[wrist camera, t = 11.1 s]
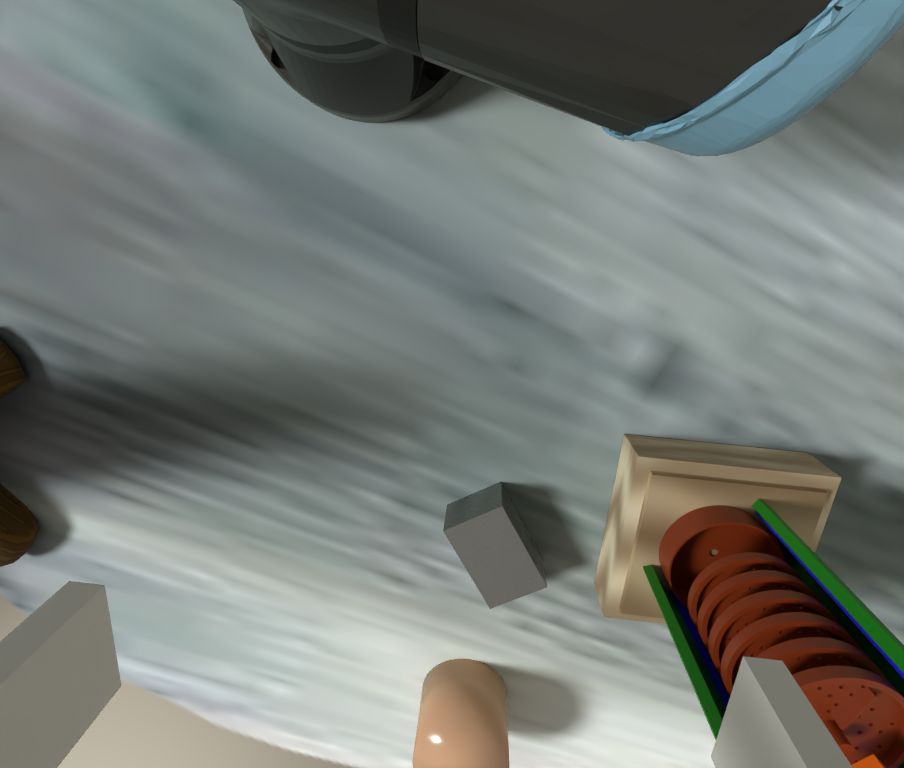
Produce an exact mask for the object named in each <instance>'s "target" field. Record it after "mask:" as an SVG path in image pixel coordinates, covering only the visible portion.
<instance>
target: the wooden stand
mask: <svg viewBox="0 0 904 768" xmlns="http://www.w3.org/2000/svg"><path fill="white" fill-rule="evenodd" d="M26 380H27V379H26V377H25V375H24V372H23V370H22V368H21V365H20V363H19V361H18V359H17V358H16V357H15V355H14V354H13V353H12V352H11V350H10V349H9V348H8V347H7V345H6V344H5V343H4V342H3V341H2V340H0V399H1V398H3V397H4V396H6V395H7V394H9V393H10V392H12V391H13V390H15V389H16V388H17V387H19V386H20V385H21V384H22V383H23V382H25V381H26ZM38 528H39V526H38V524H37V523H36V521H35V520H34V518H33V516H32V515H31V513H30V512H29V510H28V509H27V507H26V506H25V505H24V504H23V503H22V502H21V501H20V500H18V499H17V498H16V497H15V496H14V495H13V494H12V493H10V492H9V491H8V490H7V489H6V488H5V487H4V486H2V485H1V484H0V567H1V566H4V565H8V564H11V563H14V562H15V561H17V560H18V559H19V558H20V557H21V556H23V555H24V554H25V553H26V552H27V551H28V550H29V549H30V548H31V546H32V543H33V541H34V539H35V536H36V533H37V530H38Z"/></svg>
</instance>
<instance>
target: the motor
mask: <svg viewBox="0 0 904 768" xmlns="http://www.w3.org/2000/svg"><path fill="white" fill-rule="evenodd" d="M752 506H753V507H754V509H755V510H756V511H757V512H756V514H757V515H758V516H759V517H760V519H761V520H762V521H763V522H764V523H765V524H766V525H767V526H768V528H769V529H770V530H771V531H772V532H773V533H774V534H775V535H776V536H777V541H776V540H775V539H774V538H773V537H772V536H771V535H770V533H769V532H768V531H767V530H766V529H765V528H764V527H763V525H762V524H761V523H760V522H759V521H758V520H757V519H756V518H755V517H754V516H752V515H751V514H749V513H748V512H746V511H744V510H741V509H739V508H735V507H731V506H724V505H713V506H706V507H701V508H698V509H695V510H693V511H690V512H688V513H686V514H684V515H683V516H681V517H680V518H678V519H677V520H676V521H675V522H674V523H673V524H672V525H671V526H670V527H669V528H668V529H667V531H666V532H665V534H664V536H663V538H662V540H661V543H660V547H659V562H660V566H661V568H662V571H663V573H664V575H665V577H666V579H667V581H668V583H669V585H670V587H671V589H672V590H671V591H670V590H668V589H667V588H666V587H665V586H664V585H663V584H662V583H661V582H660V581H659V579H658V577H657V575H656V573H655V571H654V569H653V566H652V565H647V566H643V569H644V572H645V575H646V577H647V579H648V582H649V584H650V586H651V589H652V591H653V593H654V596H655V598H656V601H657V603H658V605H659V608H660V610H661V612H662V615H663V617H664V619H665V622H666V624H667V626H668V629H669V631H670V633H671V636H672V638H673V641H674V643H675V645H676V648H677V650H678V652H679V655H680V657H681V659H682V662H683V664H684V666H685V669H686V671H687V673H688V676H689V678H690V681H691V683H692V685H693V688H694V690H695V692H696V695H697V697H698V699H699V702H700V704H701V706H702V709H703V711H704V714H705V716H706V718H707V721H708V723H709V725H710V728H711V730H712V732H713V735H714V737H715V739H717V736H718V733H719V730H720V727H721V724H722V721H723V718H724V714H725V711H726V708H727V705H728V702H729V699H730V696H731V692H732V689H733V686H734V683H735V680H736V677H737V674H738V671H739V667H740V664H741V661H742V658H743V656H745V657H754V658H763V659H772V660H781V661H783V662H784V664H785V665H786V667H787V668H788V670H789V671H790V673H791V674H792V676H793V678H794V679H795V681H796V682H797V684H798V685H799V687H800V688H801V690H802V691H803V693H804V694H805V696H806V697H807V699H808V700H809V702H810V703H811V705H812V706H813V708H814V709H815V711H816V713H817V714H818V716H819V717H820V719H821V720H822V722H823V723H824V725H825V726H826V728H827V729H828V731H829V732H830V734H831V735H832V737H833V738H834V740H835V741H836V743H837V744H838V746H839V747H840V749H841V751H842V752H843V754H844V755H845V757H846V758H847V760H848V761H849V763H850V764H851V766H852V767H853V768H904V645H903V644H902V643H901V642H900V641H899V640H898V639H897V638H896V637H895V636H894V634H893V633H892V632H891V631H890V630H889V629H888V628H887V627H886V626H885V625H884V624H883V623H882V622H881V621H880V620H879V619H878V618H877V617H876V616H875V615H874V614H873V613H872V612H871V611H870V610H869V609H868V608H867V607H866V605H865V604H864V603H863V602H862V601H861V600H860V599H859V598H858V597H857V596H856V595H855V594H854V593H853V592H852V591H851V590H850V589H849V588H848V587H847V586H846V585H845V584H844V583H843V582H842V581H841V580H840V579H839V578H838V577H837V575H836V574H835V573H834V572H833V571H832V570H831V569H830V568H829V567H828V566H827V565H826V564H825V563H824V562H823V561H822V560H821V559H820V558H819V557H818V556H817V555H816V554H815V553H814V552H813V551H812V550H811V549H810V548H809V546H808V545H807V544H806V543H805V542H804V541H803V540H802V539H801V538H800V537H799V536H798V535H797V534H796V533H795V532H794V531H793V530H792V529H791V528H790V527H789V526H788V525H787V524H786V523H785V522H784V521H783V520H782V519H781V517H780V516H779V515H778V514H777V513H776V512H775V511H774V510H773V509H772V508H771V507H770V506H768V505H767V504H766V503H764V502H763V501H761V500H760V499H758V500H757V501H756V502H755V503H754V504H753V505H752ZM714 549H715V550H717V551H718V552H717V554H716V555H713V556H712V555H710V551H711V550H714Z"/></svg>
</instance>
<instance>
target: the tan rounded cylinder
mask: <svg viewBox="0 0 904 768" xmlns="http://www.w3.org/2000/svg"><path fill="white" fill-rule="evenodd" d="M413 768H509V747H508V720H507V694H506V687H505V684H504V682H503V680H502V678H501V677H500V675H499V674H498V673H497V672H496V671H495V670H494V669H492V668H491V667H489V666H488V665H486V664H484V663H481V662H478V661H475V660H470V659H454V660H449V661H445V662H443V663H441V664H439V665H437V666H436V667H434V668H433V669H432V670H431V671H430V672H429V673H428V674H427V676H426V678H425V680H424V683H423V689H422V696H421V703H420V710H419V718H418V725H417V732H416V739H415V746H414V753H413Z"/></svg>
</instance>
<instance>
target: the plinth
mask: <svg viewBox="0 0 904 768" xmlns="http://www.w3.org/2000/svg"><path fill="white" fill-rule="evenodd" d="M840 481H841V477H840V476H839V475H837V474H836V473H835V472H833V471H832V470H831V469H829V468H828V467H827V466H825V465H824V464H823V463H821V462H820V461H818V460H817V459H816V458H814V457H813V456H812V455H810V454H809V453H805V452H795V451H785V450H775V449H765V448H756V447H746V446H736V445H726V444H717V443H707V442H697V441H687V440H678V439H668V438H658V437H648V436H639V435H629V434H624V439H623V444H622V449H621V454H620V459H619V464H618V469H617V473H616V478H615V483H614V488H613V493H612V498H611V503H610V508H609V513H608V518H607V523H606V528H605V533H604V538H603V543H602V548H601V552H600V557H599V562H598V567H597V572H596V577H595V582H594V584H595V587H596V590H597V594H598V597H599V601H600V604H601V608H602V611H603V615H604V617H609V618H618V619H627V620H635V621H644V622H652V623H661V624H666V622H665V619H664V617H663V615H662V612H661V610H660V608H659V605H658V603H657V601H656V598H655V596H654V593H653V591H652V589H651V586H650V584H649V582H648V579H647V577H646V575H645V572H644V569H643V566H647V565H652V566H653V569H654V571H655V573H656V575H657V577H658V579H659V581H660V582H661V583H662V584H663V585H664V586H665V587H666V588H667V589H668V590H670V591H671V590H672V589H671V587H670V585H669V583H668V581H667V579H666V577H665V575H664V573H663V571H662V568H661V566H660V562H659V547H660V543H661V540H662V538H663V536H664V534H665V532H666V531H667V529H668V528H669V527H670V526H671V525H672V524H673V523H674V522H675V521H676V520H677V519H678V518H680V517H681V516H683V515H684V514H686V513H688V512H690V511H693V510H695V509H698V508H701V507H706V506H713V505H724V506H731V507H735V508H739V509H741V510H744V511H746V512H748V513H749V514H751V515H752V516H754V517H755V518H756V519H757V520H758V521H759V522H760V523H761V524H762V525H763V527H764V528H765V529H766V530H767V531H768V532H769V533H770V535H771V536H772V537H773V538H774V539H775V540H776V541H777V536H776V535H775V534H774V533H773V532H772V531H771V530H770V529H769V528H768V526H767V525H766V524H765V523H764V522H763V521H762V520H761V519H760V517H759V516H758V515H757V514H756V512H757V511H756V510H755V509H754V507H753V506H752V505H753V504H754V503H755V502H756V501H757V500H758V499H760V500H761V501H763V502H764V503H766V504H767V505H768V506H770V507H771V508H772V509H773V510H774V511H775V512H776V513H777V514H778V515H779V516H780V517H781V519H782V520H783V521H784V522H785V523H786V524H787V525H788V526H789V527H790V528H791V529H792V530H793V531H794V532H795V533H796V534H797V535H798V536H799V537H800V538H801V539H802V540H803V541H804V542H805V543H806V544H807V545H808V546H809V548H810V549H811V550H812V551H813V552H814V553H815V552H816V549H817V546H818V543H819V541H820V538H821V535H822V532H823V529H824V526H825V524H826V521H827V518H828V515H829V512H830V510H831V507H832V504H833V501H834V498H835V495H836V493H837V490H838V487H839V484H840ZM717 552H718V551H717V550H715V549H714V550H711V551H710V555H712V556H713V555H716V554H717Z"/></svg>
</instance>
